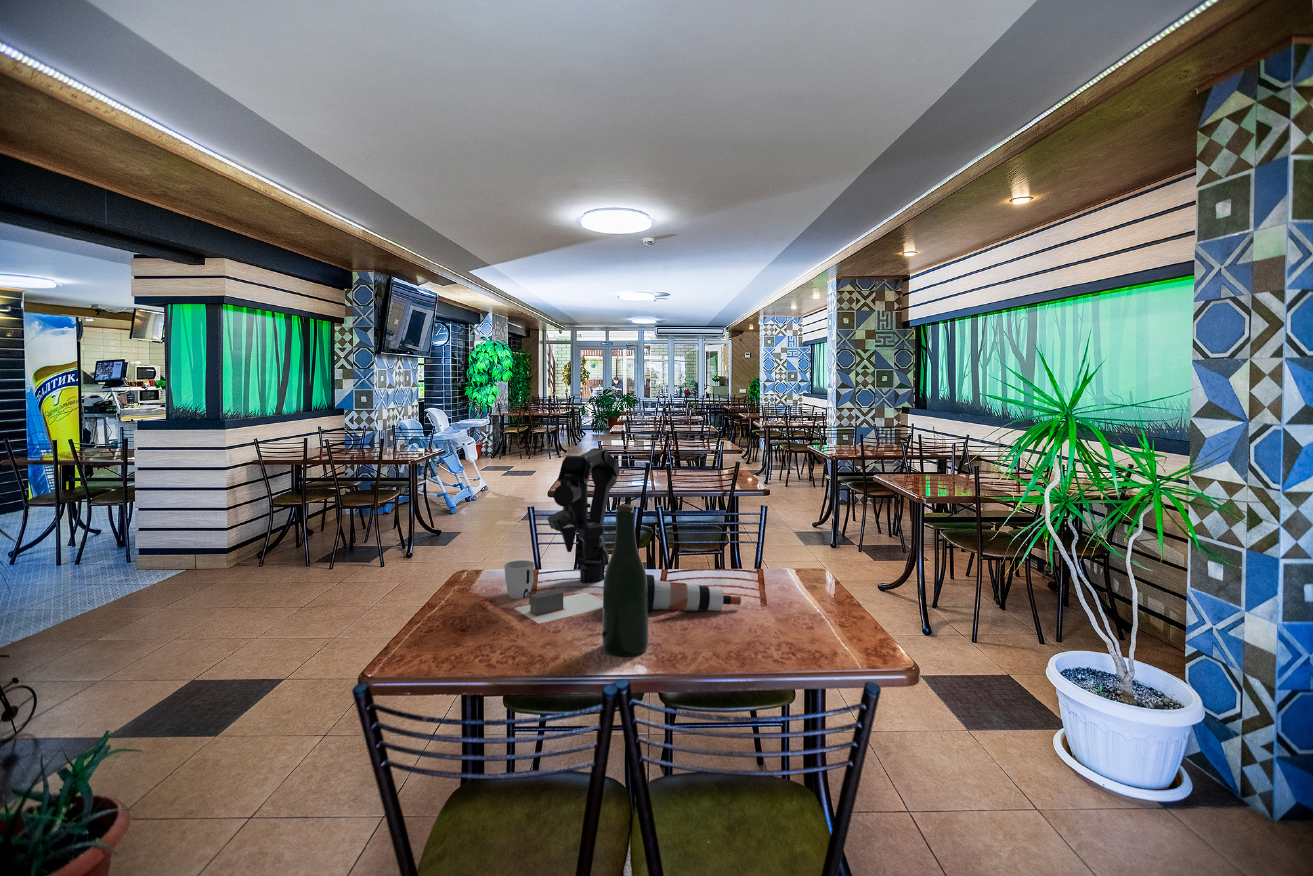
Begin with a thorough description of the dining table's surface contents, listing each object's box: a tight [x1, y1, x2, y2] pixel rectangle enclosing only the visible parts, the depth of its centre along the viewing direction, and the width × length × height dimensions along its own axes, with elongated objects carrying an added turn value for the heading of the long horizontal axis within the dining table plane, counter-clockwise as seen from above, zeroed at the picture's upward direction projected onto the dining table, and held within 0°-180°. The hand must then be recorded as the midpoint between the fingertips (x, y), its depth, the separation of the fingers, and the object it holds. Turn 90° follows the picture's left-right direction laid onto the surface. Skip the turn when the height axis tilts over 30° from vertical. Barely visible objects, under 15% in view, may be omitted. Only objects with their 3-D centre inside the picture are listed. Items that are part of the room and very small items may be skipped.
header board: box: [513, 592, 603, 625], centre depth 173 cm, size 22×14×4 cm, turn 127°
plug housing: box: [529, 588, 564, 616], centre depth 170 cm, size 8×3×4 cm, turn 127°
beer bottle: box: [601, 503, 649, 657], centre depth 147 cm, size 10×10×33 cm
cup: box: [503, 559, 535, 600], centre depth 182 cm, size 8×8×10 cm
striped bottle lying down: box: [646, 574, 742, 614], centre depth 173 cm, size 10×34×10 cm, turn 94°
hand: (577, 555), depth 184 cm, fingers open, 9 cm apart
